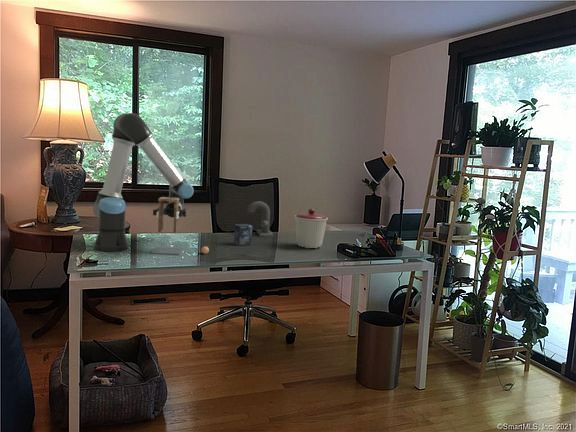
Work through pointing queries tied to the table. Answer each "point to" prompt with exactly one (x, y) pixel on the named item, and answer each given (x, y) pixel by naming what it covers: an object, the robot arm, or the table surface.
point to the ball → (205, 250)
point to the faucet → (265, 219)
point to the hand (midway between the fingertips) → (167, 215)
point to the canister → (310, 229)
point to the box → (243, 234)
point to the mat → (166, 251)
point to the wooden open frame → (161, 210)
